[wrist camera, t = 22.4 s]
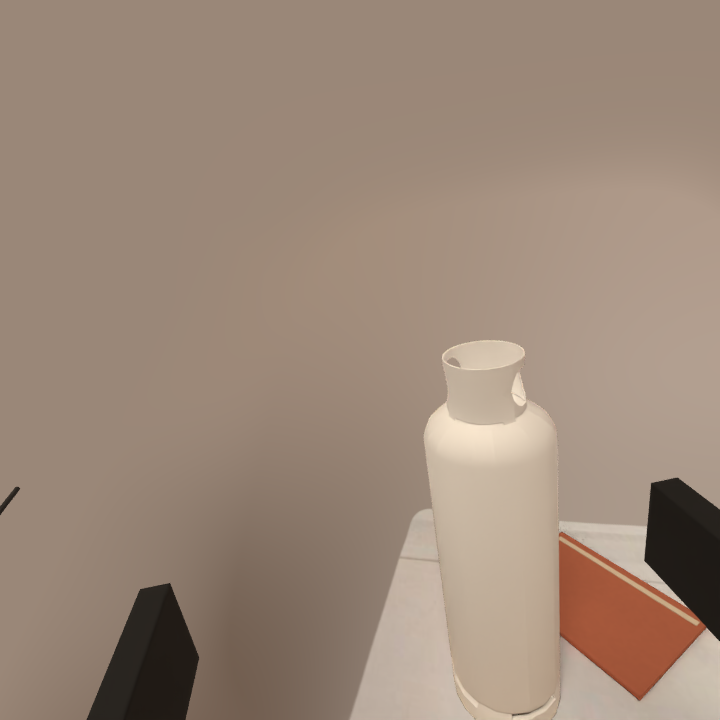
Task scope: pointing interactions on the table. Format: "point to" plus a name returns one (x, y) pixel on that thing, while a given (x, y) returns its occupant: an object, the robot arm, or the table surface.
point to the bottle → (497, 533)
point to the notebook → (620, 618)
